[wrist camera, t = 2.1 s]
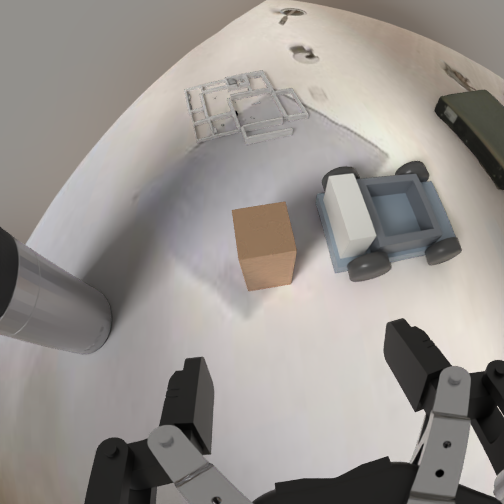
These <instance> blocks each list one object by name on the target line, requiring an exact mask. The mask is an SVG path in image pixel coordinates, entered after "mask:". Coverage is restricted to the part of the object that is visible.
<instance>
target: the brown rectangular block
mask: <svg viewBox="0 0 504 504" xmlns="http://www.w3.org/2000/svg"><path fill="white" fill-rule="evenodd" d="M232 215H233V222H234V230H235V237H236V244H237V251H238V258H239V263H240V266H241V269H242V272H243V276H244V279H245V282H246V285H247V289H248V291H253V290H260V289H266V288H272V287H278V286H283V285H289V284H291V280H292V275H293V269H294V264H295V258H296V252H297V249H296V245H295V241H294V236H293V232H292V228H291V223H290V219H289V215H288V211H287V206H286V202H279V203H273V204H266V205H260V206H254V207H248V208H241V209H236V210H232Z"/></svg>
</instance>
